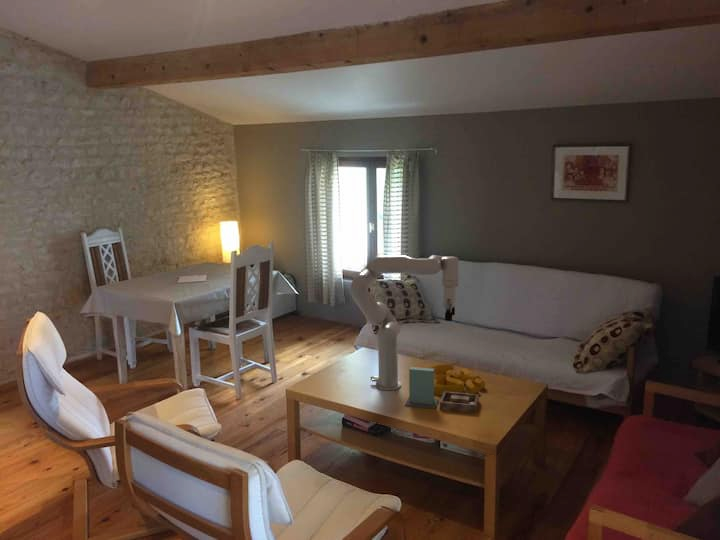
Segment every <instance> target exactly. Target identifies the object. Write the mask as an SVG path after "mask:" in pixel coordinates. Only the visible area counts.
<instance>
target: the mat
mask: <svg viewBox="0 0 720 540" xmlns="http://www.w3.org/2000/svg"><path fill="white" fill-rule="evenodd" d="M439 402H440V399H439V398H434V403H433V404H425V403H415V402H409V397H408V398H407V400H406V402H405V403H404V407H409V406H411V407H412V408H419V407H421V409H429V408H430V409H432V410H436V409H435V408H437V406H438V404H437V403H439ZM411 407H410V408H411Z"/></svg>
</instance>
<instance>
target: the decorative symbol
mask: <svg viewBox="0 0 720 540" xmlns="http://www.w3.org/2000/svg"><path fill="white" fill-rule="evenodd" d="M429 368H430V369H434V395H439V394H440V395H439V396H442V395H443V393H444V391H446V392H457V393H465V390H466V392H467V393H468V394H477V393H479V391H481V390H484V389H485V388H486V381H484V379H483V380H482V377H481V376H479V375H477V376H473V373H472V371H471V370H468V369H467V368H465V367H463V368H461V369H460V373H457V371H455V370H454V366H453V365H452V364H438V365H433V366H431V367H429ZM464 384H465V385H464ZM483 388H484V389H483ZM478 389H479V390H478ZM480 389H481V390H480Z"/></svg>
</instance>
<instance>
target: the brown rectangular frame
mask: <svg viewBox="0 0 720 540" xmlns="http://www.w3.org/2000/svg"><path fill="white" fill-rule="evenodd" d="M452 395H456V396H467V397H469V401H471V402H474V404H463V403H453V402H450V401H447V399H449V400H451V396H452ZM478 404H479V394H477V393H473V394H471V393H469V392H467V393H466V392H463V393H457V392H446V391H444V393H443V395H441V399H439V410H440V409H441V410H442V411H450V410H451V412H461V413H462V412H463V413H472V414H476V412H477V410H478V409H477V408H478ZM476 409H477V410H476Z"/></svg>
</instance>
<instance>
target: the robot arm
mask: <svg viewBox="0 0 720 540" xmlns="http://www.w3.org/2000/svg"><path fill="white" fill-rule="evenodd" d="M459 262H460V261H459V258H458V257H457V256H452V255H451V256H447V255H446V256H442V255H437V254H432V255H430V256H429V257H428V258H413V257H410V256H408V255H402V254H399V255H388V254H387V253H383V252H382V253H381V252H380V253H378V254H377V255H375V256H374V258H372V260H371V261H370V262H369V263H368V264H367V265H366V266H365V267H364V268H363V269H362V270H361V271H359V272H358V273H356V275H355V276H354V278H353V279H352V282H351V284H350V291H349V292H350V294H351V297H352V299H353V300H354V302H355V303H356V305H357V307H358V309H359V310H360V311H361V312H362V314H363V316H364V317H365V318H366V320H367V322H368V323H369V324H371V325H372V326H378V328H379V329H378V331H377V336H376V340H377V350H378V351H377V352H378V353H377V354H378V359H377V360H378V375H377V376H374V375H371V376H370V380H371V382H376V383H375V386H376V387H375V388H377V389H379V390H382V391H395V390H398V389H400V388H401V387H402V382H401V381H399V366H398V365H399V357H398V356H399V355H398V354H399V353H398V337H399V334H400V332H401V327H400V324H399V322H398V321H397V319H396V317H395V316H394V315H393V313H392V311H391V310H390V309H389V307H388V306H387V305H386V304H385V303H383V302H381V301H377V300H375V298H374V296H373V295H372V294H371V292H370V291H369V288H370V287H371V286H372V285H373V284H374V283H375V282H376V281H377V280H378V279H379V278H380V277H381V276H383V274H407V275H415V276H416V275H418V276H427V275H433V276H434V275H436V274H438V273H439V272H441V271H442V273H441V274H442V275H441V277H442V278H441V281H442V282H441V283H442V284H441V285H442V287H443V294H442V295H443V299H442V300H443V301H442V307H443V308H445V312H444V321H447V322H449V321H450V322H452V320H453V316H455V315H456V309H455V308H456V306H455V305H456V303H457V302H456V300H457V287H459V265H460V264H459Z"/></svg>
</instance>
